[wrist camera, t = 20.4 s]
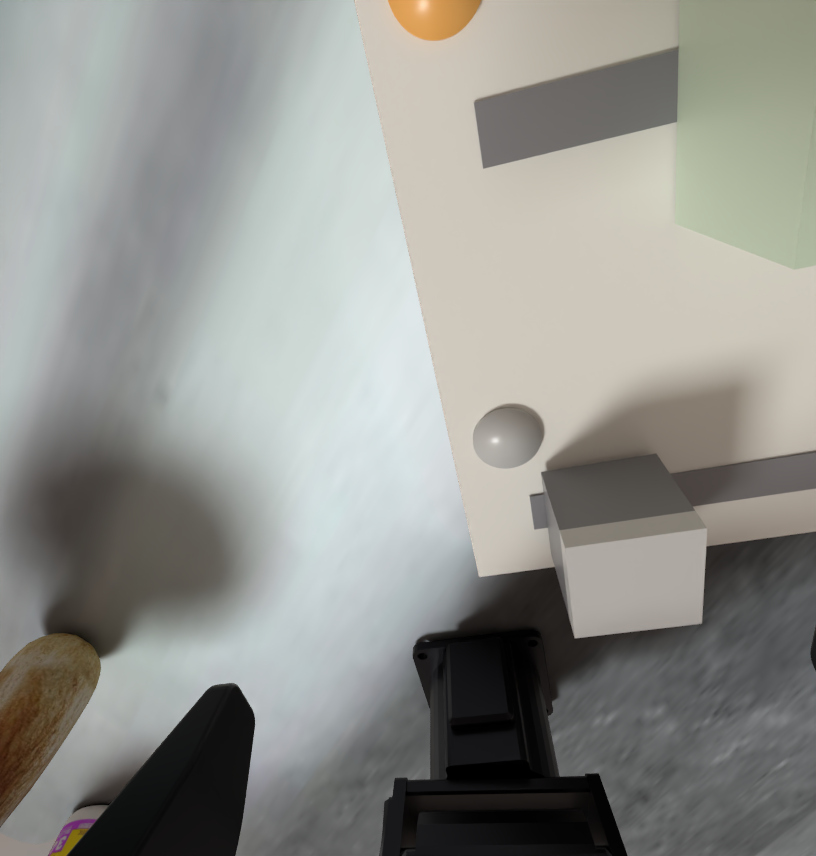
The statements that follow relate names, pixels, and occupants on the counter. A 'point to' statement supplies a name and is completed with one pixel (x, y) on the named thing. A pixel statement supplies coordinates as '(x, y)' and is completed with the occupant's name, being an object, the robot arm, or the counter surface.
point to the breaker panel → (583, 271)
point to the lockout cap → (748, 126)
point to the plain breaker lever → (625, 546)
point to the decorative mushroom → (40, 708)
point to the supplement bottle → (76, 829)
